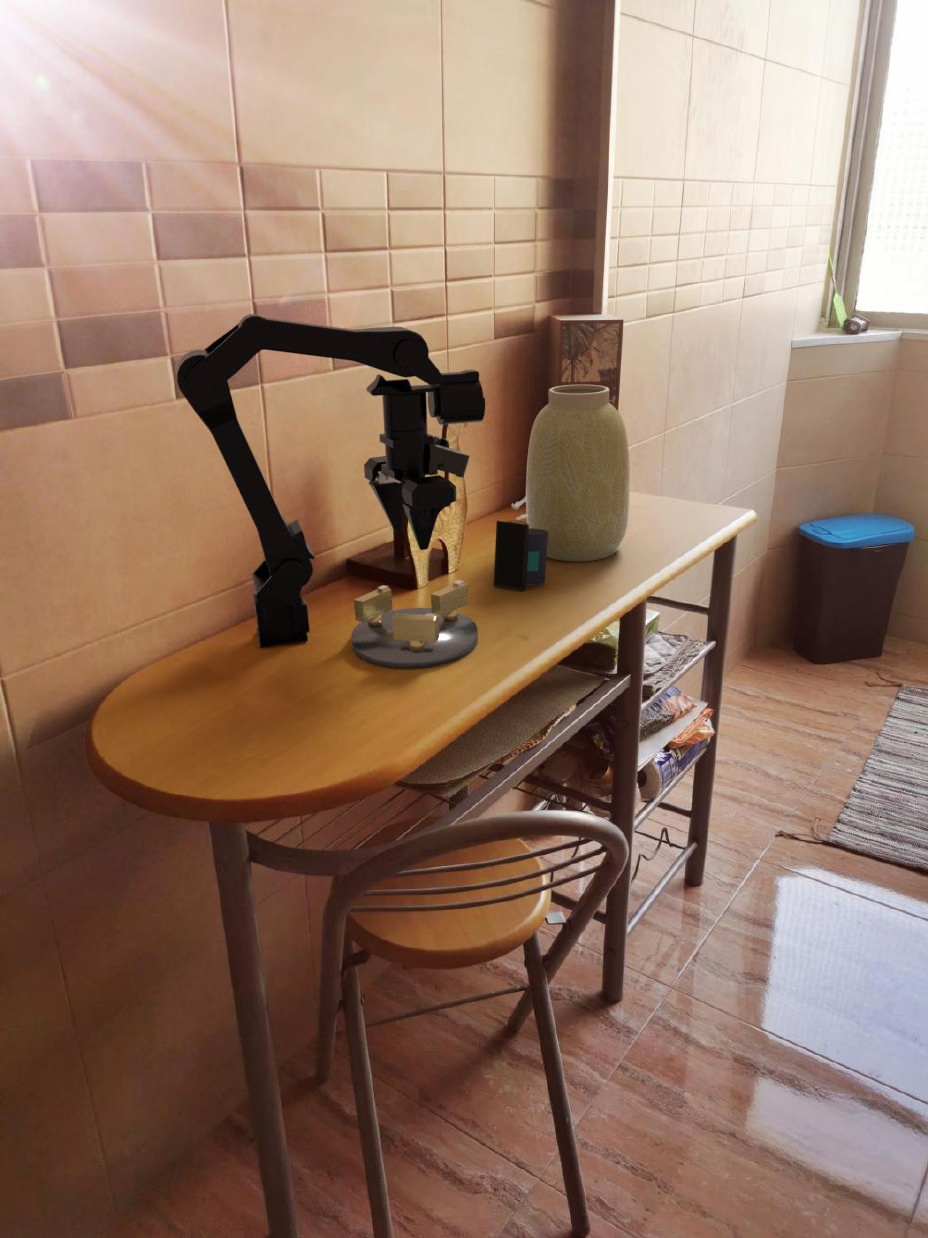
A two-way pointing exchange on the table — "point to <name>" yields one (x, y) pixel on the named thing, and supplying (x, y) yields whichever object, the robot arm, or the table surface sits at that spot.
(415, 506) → the robot arm
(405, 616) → the knob front
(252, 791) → the table surface
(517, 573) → the speaker
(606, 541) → the vase
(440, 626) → the plate
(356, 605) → the knob left
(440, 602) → the knob right
